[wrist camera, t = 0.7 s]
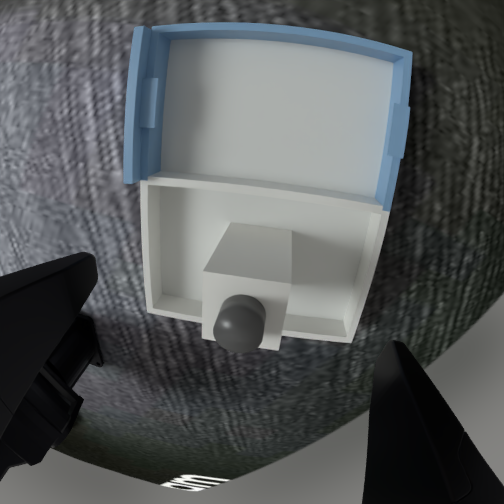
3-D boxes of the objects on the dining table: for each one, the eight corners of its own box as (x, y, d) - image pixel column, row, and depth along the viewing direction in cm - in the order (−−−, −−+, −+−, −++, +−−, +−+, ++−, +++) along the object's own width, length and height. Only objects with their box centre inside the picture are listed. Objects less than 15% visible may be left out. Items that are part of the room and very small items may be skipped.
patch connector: (283, 283, 22) (276, 372, 14) (226, 275, 22) (193, 358, 14) (291, 230, 20) (291, 303, 12) (230, 222, 20) (192, 288, 12)
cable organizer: (346, 323, 23) (353, 353, 20) (151, 294, 24) (134, 319, 21) (399, 58, 15) (419, 48, 12) (158, 36, 16) (135, 23, 13)
